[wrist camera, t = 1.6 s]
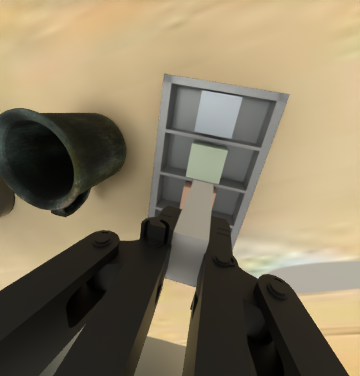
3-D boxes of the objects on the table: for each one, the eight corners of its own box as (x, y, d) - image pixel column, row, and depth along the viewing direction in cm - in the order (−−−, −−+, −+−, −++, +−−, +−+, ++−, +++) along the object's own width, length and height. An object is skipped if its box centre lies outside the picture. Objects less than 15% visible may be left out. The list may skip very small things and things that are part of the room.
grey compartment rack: (153, 224, 34) (145, 238, 31) (172, 79, 25) (164, 73, 21) (227, 244, 33) (228, 260, 29) (278, 97, 23) (289, 94, 20)
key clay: (181, 206, 29) (178, 213, 26) (186, 180, 27) (183, 186, 25) (209, 213, 28) (208, 221, 26) (216, 187, 26) (216, 193, 24)
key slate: (196, 129, 24) (194, 131, 22) (203, 92, 22) (202, 90, 20) (230, 136, 23) (231, 138, 21) (240, 98, 22) (242, 97, 19)
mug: (133, 119, 28) (78, 122, 17) (124, 201, 34) (80, 243, 23) (68, 102, 29) (-23, 96, 18) (71, 185, 35) (4, 218, 24)
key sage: (188, 171, 26) (185, 176, 24) (194, 140, 24) (191, 143, 22) (218, 178, 26) (218, 184, 24) (227, 147, 24) (228, 150, 22)
